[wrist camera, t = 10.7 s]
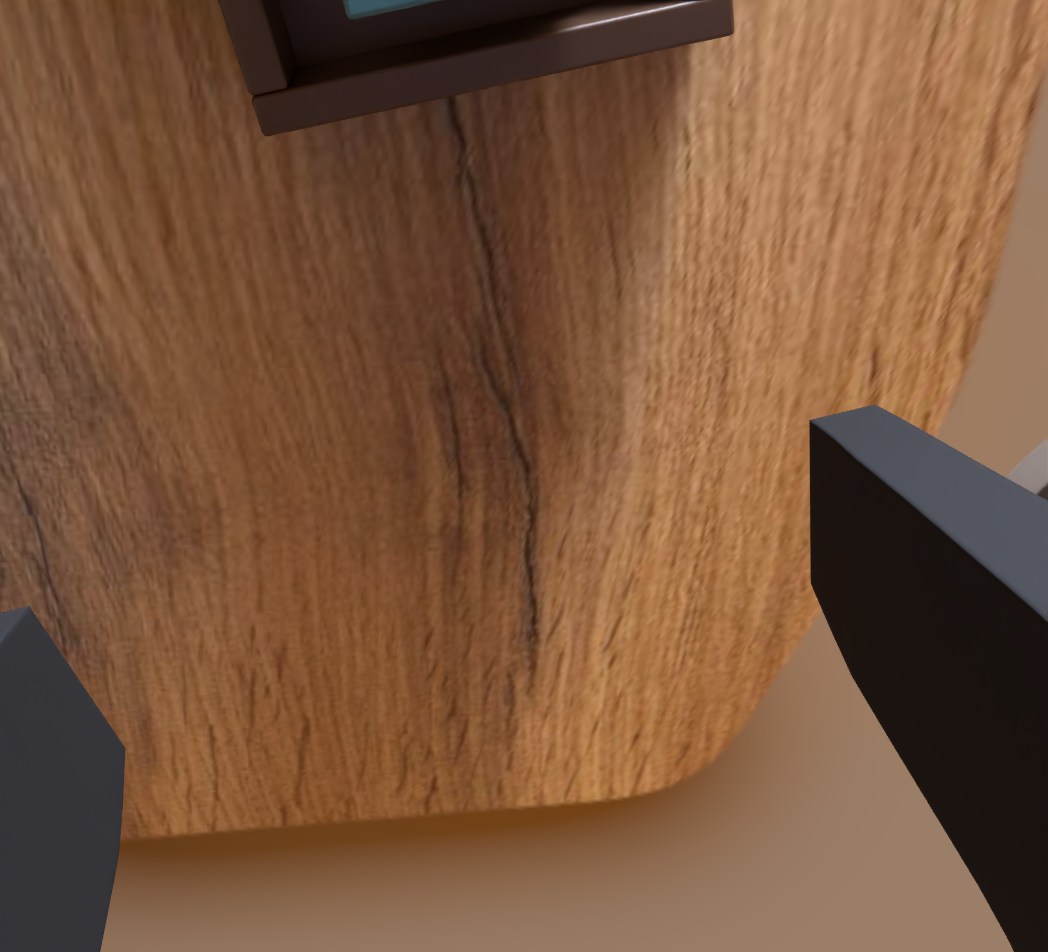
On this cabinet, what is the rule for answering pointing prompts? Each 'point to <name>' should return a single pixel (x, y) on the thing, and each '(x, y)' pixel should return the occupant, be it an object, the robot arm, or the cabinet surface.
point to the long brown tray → (438, 48)
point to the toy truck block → (378, 6)
